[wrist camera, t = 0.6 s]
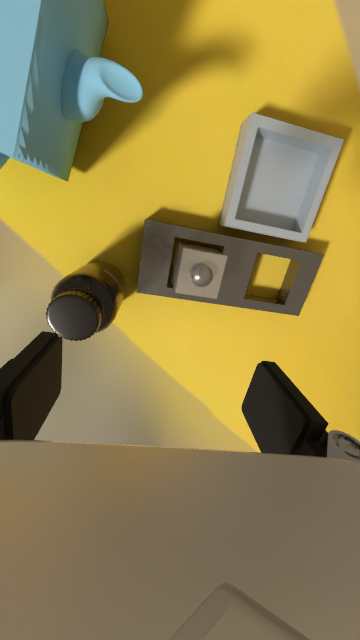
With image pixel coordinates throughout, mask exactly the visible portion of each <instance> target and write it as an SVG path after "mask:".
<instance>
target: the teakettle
mask: <svg viewBox="0 0 360 640" xmlns="http://www.w3.org/2000/svg"><path fill="white" fill-rule="evenodd" d="M107 26H108V18H107V14H106V10H105V5H104V1H103V0H0V169H1V168H2V166H3V165H4V164H5V163H6V162H7V160H8V159H9V157H11V158H13V159H15V160H18V161H20V162H22V163H25V164H27V165H29V166H32V167H34V168H37V169H39V170H41V171H44V172H46V173H48V174H51V175H53V176H56V177H58V178H60V179H63V180H65V181H67V182H68V180H69V176H70V172H71V168H72V164H73V160H74V156H75V152H76V149H77V145H78V141H79V137H80V133H81V129H82V125H83V122H86V121H90V120H92V119H93V118H94V117H95V116H96V115H97V114H98V113H99V111H100V109H101V107H102V105H103V102H104V99H105V98H106V97H110V98H114V99H117V100H120V101H123V102H130V103H133V102H138V101H139V100H141V98H142V97H143V89H142V86H141V84H140V82H139V81H138V79H137V78H136V77H135V76H134V75H133V74H132V73H131V72H130V71H129V70H127V69H126V68H125V67H123V66H122V65H120V64H118V63H117V62H115V61H112V60H110V59H107V58H103V57H100V54H101V50H102V46H103V42H104V38H105V34H106V30H107Z"/></svg>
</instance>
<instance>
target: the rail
mask: <svg viewBox="0 0 360 640" xmlns="http://www.w3.org/2000/svg"><path fill="white" fill-rule="evenodd" d="M175 237H177V238H182V239H188V240H193V241H198V242H204V243H209V244H214V245H219V248H218V251H219V252H221V253H223V254H224V255H226V256H228V257H227V261H226V265H225V269H224V273H223V276H222V280H221V284H220V288H219V292H218V296H217V299H214V298H207V297H200V296H194V295H187V294H180V293H175V290H174V286H173V284H172V283H167V281H168V275H169V269H170V263H171V257H172V251H173V245H174V239H175ZM257 253H262V254H267V255H273V256H278V257H283V258H289V259H291V261H290V264H289V267H288V269H287V272H286V275H285V278H284V280H283V283H282V286H281V289H280V292H279V294H278V297H277V300H275V299H269V298H263V297H256V296H250V295H245V293H246V290H247V287H248V283H249V280H250V277H251V273H252V270H253V267H254V263H255V260H256V257H257ZM323 256H324V255H323V254H318V253H314V252H309V251H304V250H298V249H293V248H288V247H283V246H278V245H273V244H268V243H263V242H258V241H253V240H248V239H242V238H237V237H232V236H227V235H222V234H217V233H212V232H207V231H202V230H197V229H192V228H187V227H181V226H176V225H171V224H166V223H161V222H156V221H151V220H146V219H145V223H144V232H143V241H142V249H141V258H140V267H139V276H138V284H137V293H144V294H151V295H158V296H164V297H171V298H178V299H185V300H192V301H199V302H206V303H213V304H220V305H227V306H234V307H241V308H248V309H255V310H262V311H268V312H275V313H282V314H289V315H296V316H299V314H300V312H301V309H302V307H303V304H304V302H305V299H306V297H307V295H308V292H309V290H310V287H311V285H312V282H313V280H314V278H315V275H316V273H317V270H318V268H319V265H320V263H321V260H322V258H323Z"/></svg>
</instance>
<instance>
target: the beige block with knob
mask: <svg viewBox="0 0 360 640" xmlns="http://www.w3.org/2000/svg"><path fill="white" fill-rule="evenodd" d="M227 257H228V256H226V255H224V254H223V253H221V252H219V251H217V250H215V249H212V248H207V247H201V246H196V245H191V244H185V243H180V242H177V248H176V254H175V260H174V265H173V271H172V277H171V279H172V283H173V286H174V290H175V293H180V294H187V295H194V296H200V297H207V298H214V299H217V296H218V292H219V288H220V284H221V280H222V276H223V273H224V269H225V265H226V261H227Z"/></svg>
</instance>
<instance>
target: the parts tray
mask: <svg viewBox="0 0 360 640" xmlns="http://www.w3.org/2000/svg"><path fill="white" fill-rule="evenodd" d="M343 142H344V139H341V138H337V137H334V136H330V135H327V134H324V133H320V132H317V131H313V130H310V129H307V128H303V127H300V126H296V125H293V124H290V123H286V122H283V121H279V120H276V119H273V118H269V117H266V116H262V115H259V114H256V113H251V114H250V115H249V116H248V117H247V118H246V119H245V121H244V122H243V123H242V125H241V129H240V134H239V138H238V143H237V147H236V151H235V156H234V160H233V164H232V169H231V173H230V177H229V182H228V186H227V191H226V195H225V199H224V204H223V208H222V212H221V217H220V221H219V225H218V226H223V227H228V228H233V229H238V230H243V231H248V232H253V233H258V234H263V235H268V236H273V237H278V238H283V239H288V240H292V241H298V242H305V243H306V241H307V238H308V236H309V233H310V230H311V227H312V225H313V222H314V219H315V217H316V214H317V211H318V209H319V206H320V203H321V201H322V198H323V195H324V193H325V190H326V187H327V185H328V182H329V179H330V177H331V174H332V171H333V169H334V166H335V163H336V161H337V158H338V155H339V153H340V150H341V147H342V145H343Z"/></svg>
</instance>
